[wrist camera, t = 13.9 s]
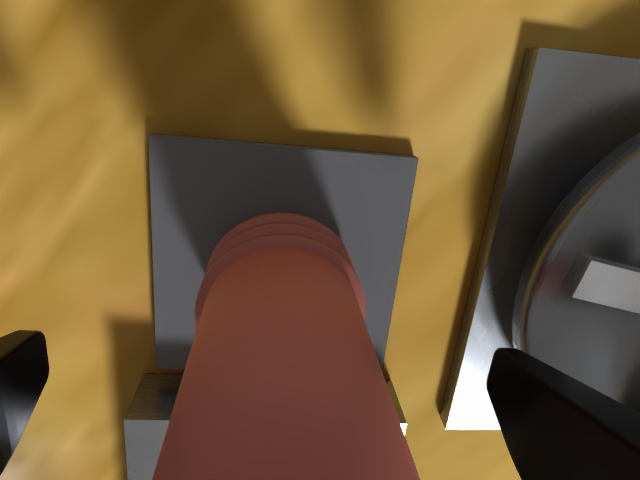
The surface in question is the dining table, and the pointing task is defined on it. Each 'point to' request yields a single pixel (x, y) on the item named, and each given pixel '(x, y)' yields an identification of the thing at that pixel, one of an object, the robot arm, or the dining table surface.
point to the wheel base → (535, 198)
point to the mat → (264, 197)
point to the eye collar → (166, 421)
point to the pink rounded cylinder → (282, 366)
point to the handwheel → (589, 282)
